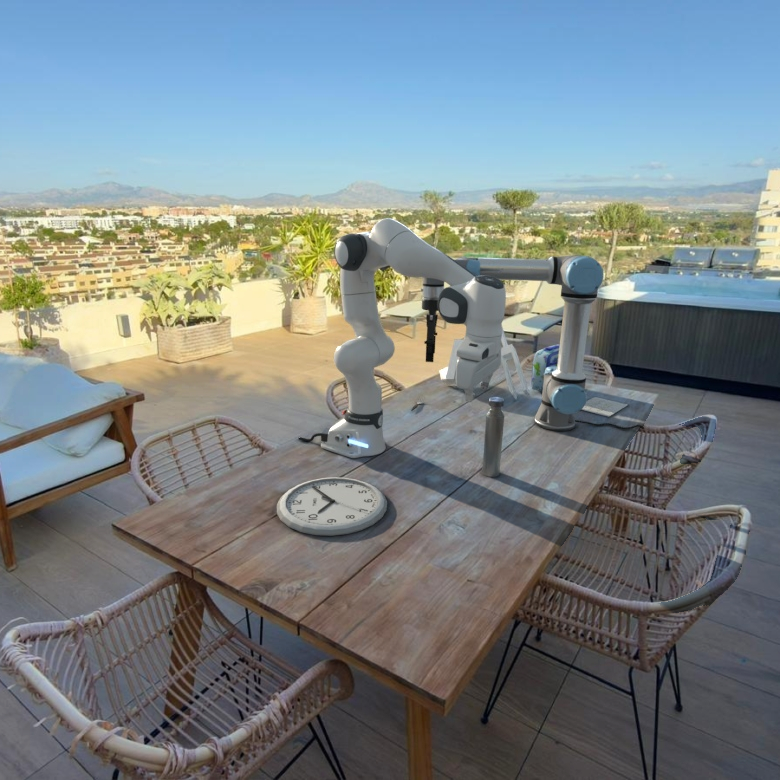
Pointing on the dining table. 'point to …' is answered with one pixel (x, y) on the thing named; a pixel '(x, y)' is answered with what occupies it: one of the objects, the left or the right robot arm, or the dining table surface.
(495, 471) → the bottle
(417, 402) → the fork
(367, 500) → the wall clock
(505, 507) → the dining table surface
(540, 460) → the dining table surface
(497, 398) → the cap
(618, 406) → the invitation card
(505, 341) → the white plastic object
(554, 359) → the lunch box
